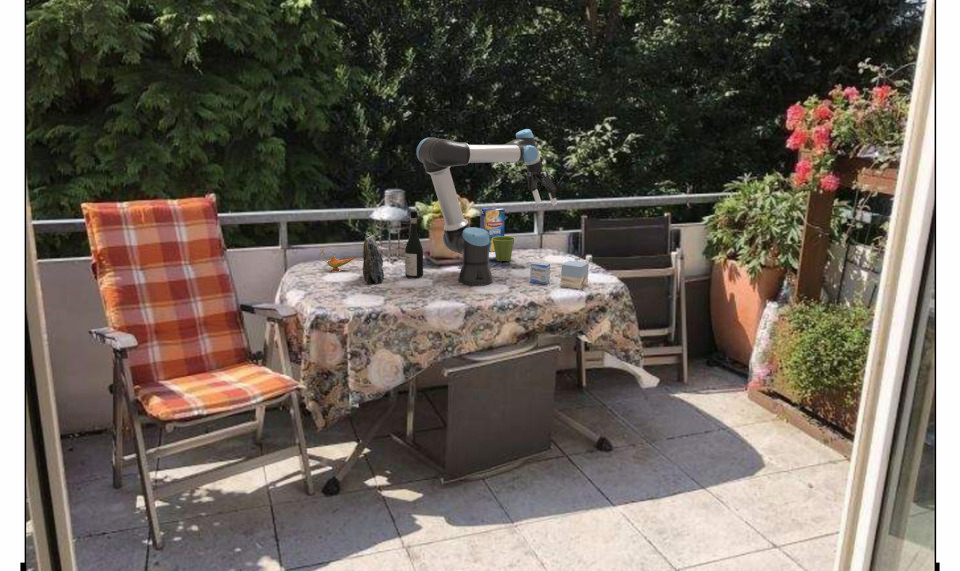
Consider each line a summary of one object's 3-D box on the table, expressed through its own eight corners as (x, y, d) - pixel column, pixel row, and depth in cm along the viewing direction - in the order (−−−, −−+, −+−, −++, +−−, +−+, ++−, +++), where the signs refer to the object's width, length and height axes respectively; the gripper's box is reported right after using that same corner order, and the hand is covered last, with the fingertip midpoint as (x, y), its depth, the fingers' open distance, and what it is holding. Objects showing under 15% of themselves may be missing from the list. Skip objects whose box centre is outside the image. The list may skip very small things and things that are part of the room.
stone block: (383, 285, 338) (382, 240, 333) (362, 285, 337) (361, 240, 332) (385, 274, 355) (385, 232, 350) (366, 274, 355) (365, 232, 350)
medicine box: (529, 282, 345) (530, 263, 343) (532, 280, 349) (533, 261, 347) (546, 284, 342) (547, 265, 340) (549, 282, 346) (550, 263, 344)
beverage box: (504, 250, 409) (504, 209, 403) (485, 252, 404) (486, 210, 399) (498, 248, 415) (498, 207, 409) (479, 249, 410) (480, 208, 405)
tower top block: (580, 278, 335) (581, 267, 334) (561, 275, 339) (561, 264, 338) (588, 274, 343) (588, 262, 341) (569, 271, 347) (569, 260, 345)
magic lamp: (358, 272, 359) (357, 249, 357) (318, 272, 358) (317, 249, 355) (359, 268, 366) (358, 245, 363) (320, 269, 364) (319, 246, 361)
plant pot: (503, 256, 395) (503, 235, 392) (519, 260, 387) (520, 238, 384) (486, 260, 387) (486, 237, 384) (502, 264, 379) (503, 241, 376)
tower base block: (579, 289, 336) (580, 278, 335) (560, 286, 340) (561, 275, 339) (587, 284, 344) (588, 273, 343) (568, 282, 348) (569, 271, 347)
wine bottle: (413, 279, 347) (413, 213, 339) (401, 276, 352) (401, 211, 345) (426, 276, 353) (426, 211, 345) (414, 273, 358) (414, 209, 350)
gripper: (554, 159, 353) (568, 202, 361) (524, 158, 374) (538, 198, 382) (542, 165, 350) (555, 208, 358) (512, 164, 372) (526, 205, 379)
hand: (546, 203), depth 370 cm, fingers open, 13 cm apart
